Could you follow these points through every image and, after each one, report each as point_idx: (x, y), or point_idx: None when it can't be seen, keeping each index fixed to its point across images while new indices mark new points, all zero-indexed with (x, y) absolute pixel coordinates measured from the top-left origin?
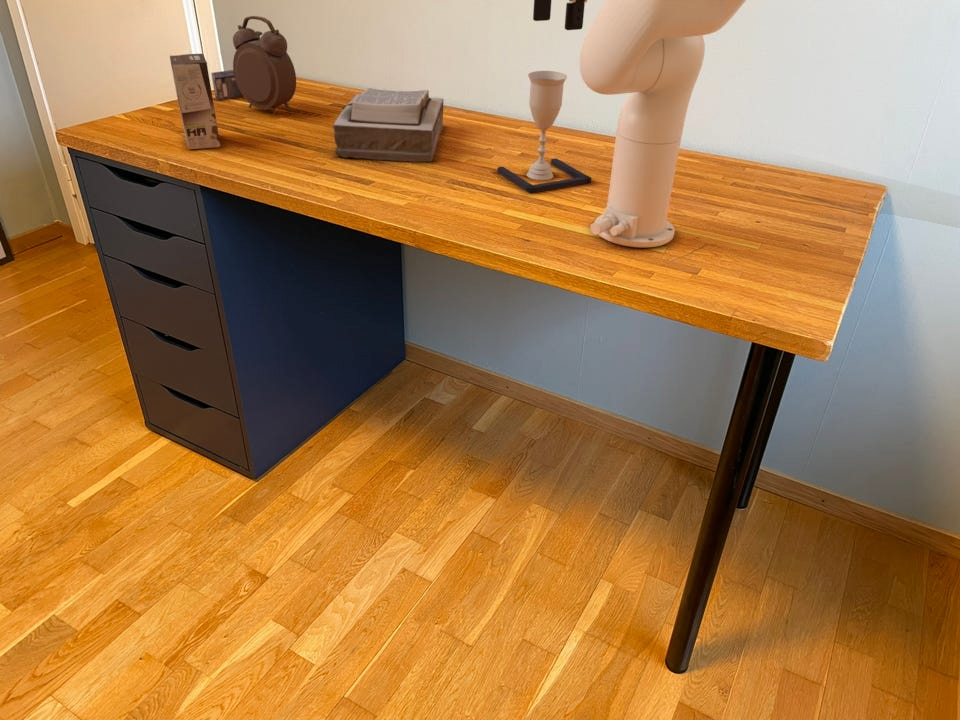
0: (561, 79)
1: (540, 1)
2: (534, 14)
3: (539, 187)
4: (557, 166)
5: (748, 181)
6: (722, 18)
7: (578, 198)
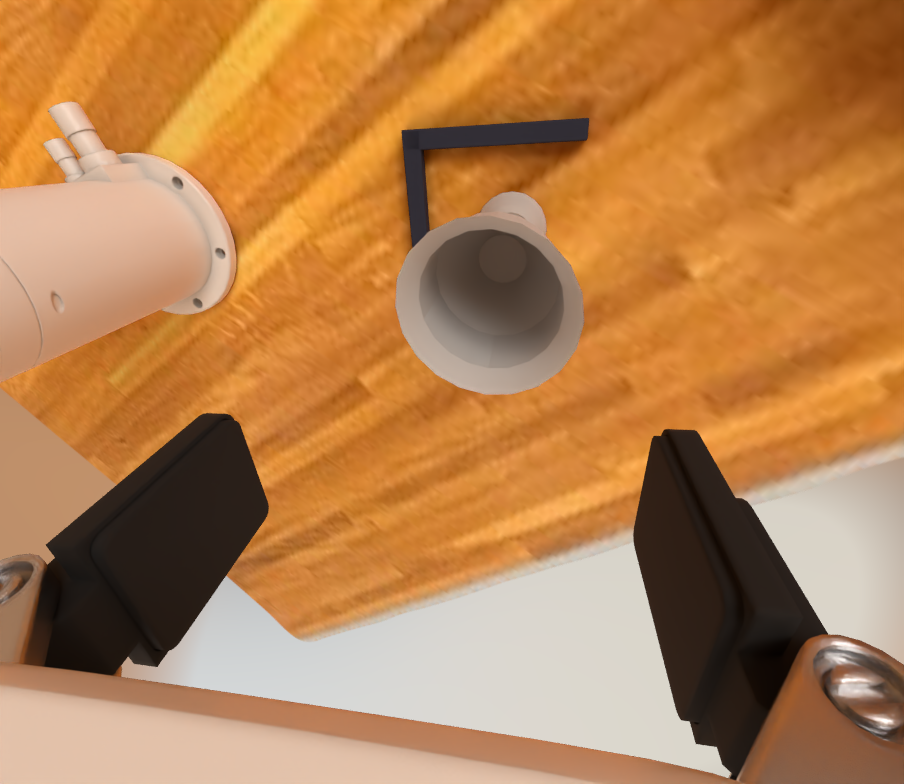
0: (490, 373)
1: (692, 587)
2: (685, 453)
3: (405, 163)
4: None
5: (350, 541)
6: None
7: (347, 235)
